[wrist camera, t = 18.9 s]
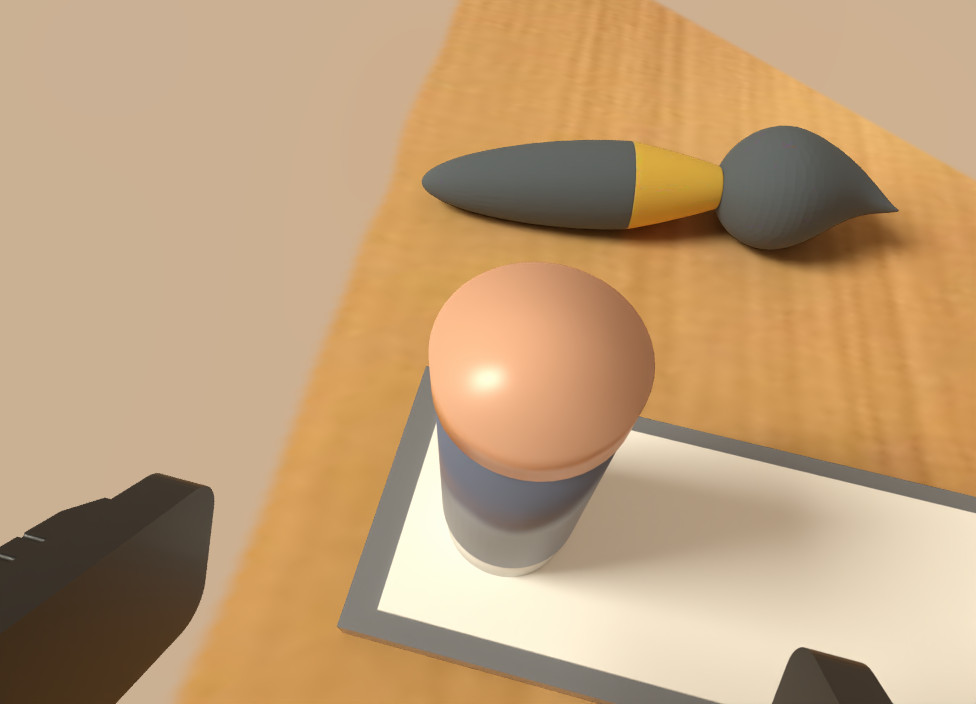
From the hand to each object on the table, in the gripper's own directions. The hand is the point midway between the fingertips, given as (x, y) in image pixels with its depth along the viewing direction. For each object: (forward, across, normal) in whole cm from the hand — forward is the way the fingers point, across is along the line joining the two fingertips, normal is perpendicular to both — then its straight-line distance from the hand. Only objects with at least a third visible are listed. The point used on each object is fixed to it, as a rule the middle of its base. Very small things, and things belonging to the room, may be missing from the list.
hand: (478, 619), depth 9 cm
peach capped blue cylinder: (+11, 0, +4) cm, 12 cm away
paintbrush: (+23, -3, -5) cm, 24 cm away
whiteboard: (+12, -6, +5) cm, 14 cm away
